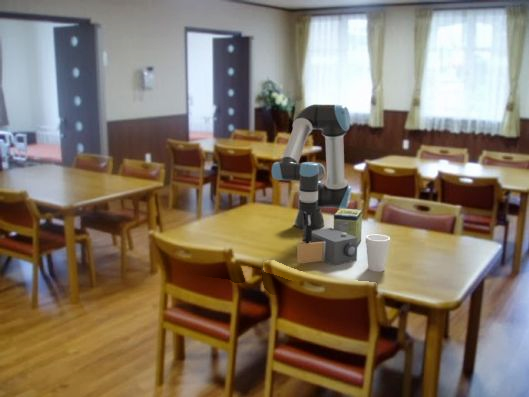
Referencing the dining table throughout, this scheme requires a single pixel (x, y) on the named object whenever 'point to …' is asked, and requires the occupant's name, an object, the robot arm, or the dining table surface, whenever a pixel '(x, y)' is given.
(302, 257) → the side door
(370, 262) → the foam cup
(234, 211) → the dining table surface
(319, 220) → the robot arm
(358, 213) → the protein box
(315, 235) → the camera body
